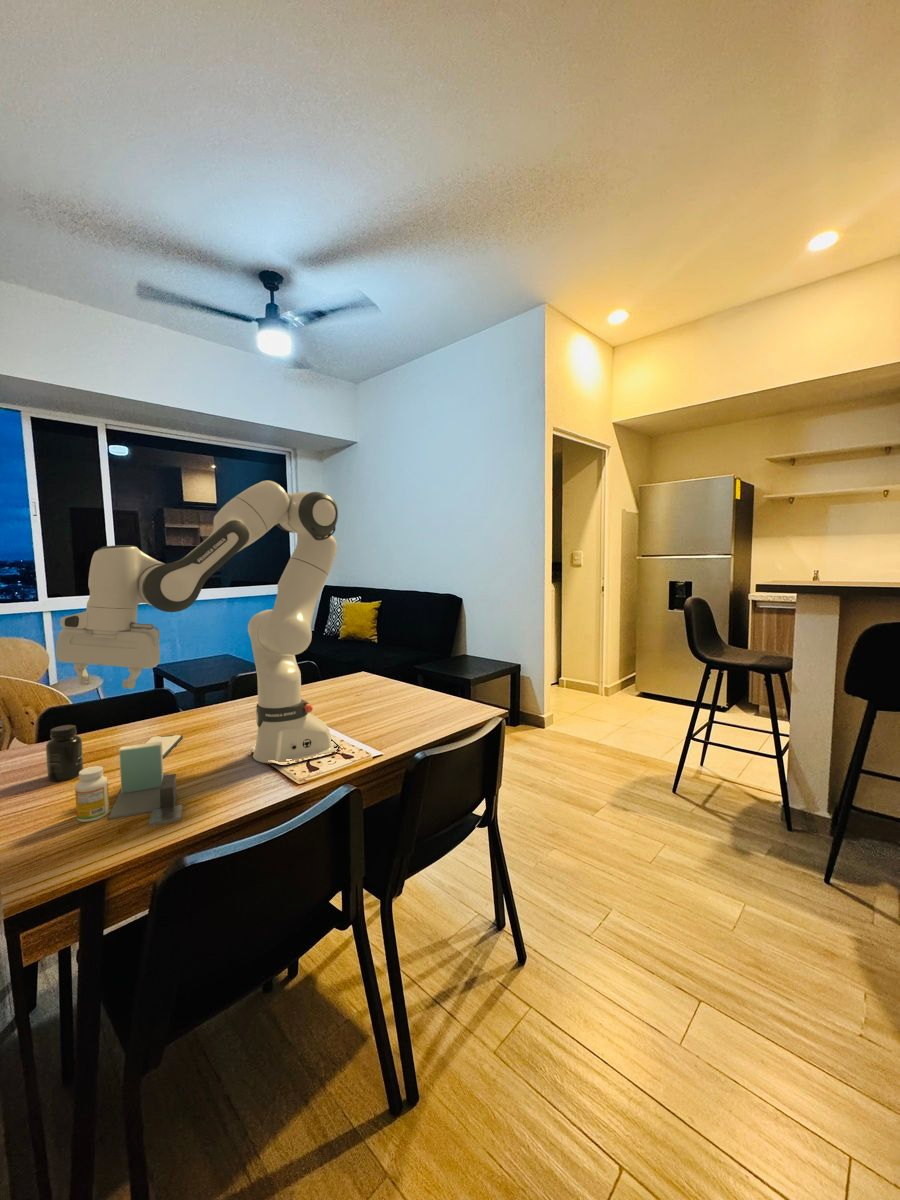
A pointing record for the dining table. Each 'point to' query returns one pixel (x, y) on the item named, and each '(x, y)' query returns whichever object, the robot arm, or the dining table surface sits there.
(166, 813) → the grey post on base
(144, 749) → the tile
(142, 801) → the mat
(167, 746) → the phone case
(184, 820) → the dining table surface
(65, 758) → the supplement bottle
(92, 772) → the supplement bottle
